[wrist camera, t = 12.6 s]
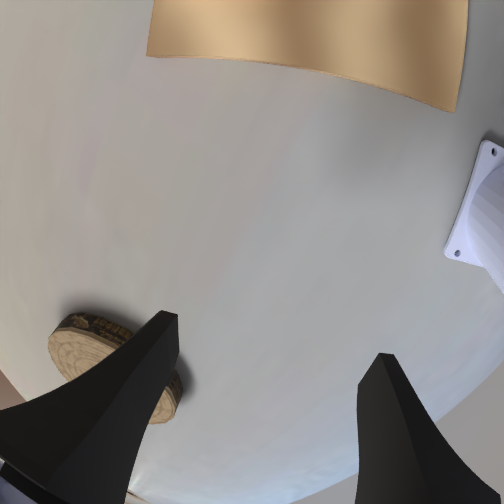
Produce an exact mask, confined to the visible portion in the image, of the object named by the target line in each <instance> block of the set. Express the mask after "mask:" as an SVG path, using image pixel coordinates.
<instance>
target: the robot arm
mask: <svg viewBox="0 0 504 504" xmlns="http://www.w3.org/2000/svg"><path fill="white" fill-rule="evenodd" d="M493 148H494V154H492V149H493ZM457 250H459V251H458V252H457V253H456V254H455V251H457ZM444 253H445V255H446V256H447V257H448V258H451V259H455V260H458V261H462V262H466V263H470V264H473V265H477V266H481V267H485V269H486V270H487V271H488V273H489V274H490V275H491V277H492V278H493V280H494V281H495V283H496V284H497V285H498V287H499V288H500V290H501V291H502V293H503V294H504V148H503V147H501V146H499V145H497V144H495V143H493V142H491V141H489V140H483V141H482V142H481V144H480V148H479V152H478V155H477V159H476V162H475V166H474V169H473V172H472V175H471V179H470V182H469V185H468V188H467V191H466V194H465V196H464V199H463V202H462V205H461V208H460V210H459V213H458V216H457V218H456V221H455V223H454V226H453V228H452V231H451V233H450V236H449V238H448V240H447V243H446V245H445V247H444ZM178 354H179V336H178V314H174V313H170V312H167V311H163V310H161V311H159V312H158V313H157V314H156V315H155V316H154V317H153V318H151V319H150V320H149V321H148V322H147V323H146V324H145V325H144V326H143V327H142V328H141V329H139V330H138V331H137V332H136V333H135V334H134V335H133V336H131V337H130V338H129V339H128V340H127V341H126V342H124V343H123V344H122V345H121V346H120V347H118V348H117V349H116V350H115V351H113V352H112V353H111V354H109V355H108V356H107V357H105V358H104V359H103V360H102V361H100V362H99V363H98V364H96V365H95V366H93V367H92V368H90V369H89V370H87V371H86V372H84V373H83V374H81V375H80V376H78V377H76V378H75V379H73V380H71V381H69V382H68V383H66V384H64V385H62V386H60V387H59V388H57V389H55V390H53V391H51V392H49V393H46V394H44V395H42V396H39V397H37V398H35V399H32V400H30V401H28V402H25V403H22V404H19V405H16V406H13V407H10V408H7V409H3V410H0V458H1V459H3V460H4V461H5V462H4V463H3V462H2V461H0V504H124V502H125V497H126V493H127V489H128V485H129V481H130V477H131V473H132V470H133V466H134V463H135V460H136V457H137V453H138V450H139V447H140V444H141V441H142V438H143V435H144V432H145V430H146V427H147V425H148V423H149V420H150V418H151V416H152V414H153V412H154V410H155V408H156V406H157V404H158V402H159V400H160V398H161V396H162V394H163V391H164V389H165V387H166V385H167V383H168V381H169V379H170V377H171V374H172V372H173V369H174V366H175V363H176V360H177V357H178ZM357 425H358V442H359V475H358V485H357V492H356V499H355V504H501V498H500V494H498V493H497V492H496V491H494V490H493V489H492V488H491V487H489V486H488V485H487V484H485V483H484V482H483V481H482V480H481V479H480V478H479V477H478V476H477V475H476V474H475V473H474V472H473V471H472V470H471V469H470V468H469V467H468V466H467V465H466V464H465V463H464V462H463V461H462V460H461V458H460V457H459V456H458V455H457V454H456V453H455V452H454V450H453V449H452V448H451V446H450V445H449V444H448V442H447V441H446V440H445V438H444V437H443V436H442V434H441V433H440V432H439V430H438V429H437V427H436V426H435V424H434V422H433V421H432V419H431V418H430V416H429V415H428V413H427V411H426V410H425V408H424V406H423V405H422V403H421V401H420V400H419V398H418V396H417V394H416V393H415V391H414V389H413V387H412V386H411V384H410V382H409V380H408V378H407V377H406V375H405V373H404V371H403V370H402V368H401V366H400V364H399V363H398V361H397V359H396V357H395V356H394V354H386V353H379V354H378V355H377V357H376V358H375V360H374V362H373V363H372V365H371V366H370V368H369V369H368V371H367V372H366V374H365V375H364V377H363V378H362V380H361V381H360V383H359V384H358V393H357Z"/></svg>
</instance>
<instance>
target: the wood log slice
mask: <svg viewBox="0 0 504 504" xmlns="http://www.w3.org/2000/svg"><path fill="white" fill-rule="evenodd" d="M133 335H134V333H133V332H131V331H130V330H128V329H127V328H125V327H123V326H121V325H119V324H116V323H114V322H112V321H110V320H108V319H105V318H103V317H100V316H95V315H91V314H86V313H78V314H70V315H68V316H67V317H66V318H65V319H64V320H63V321H62V322H61V323H60V324H59V325H58V327H57V328H56V329H55V330H54V332H53V333H52V334H51V336H50V337H49V341H48V349H49V352H50V355H51V358H52V360H53V362H54V364H55V365H56V367H57V368H58V370H59V371H60V373H61V374H62V375H63V376H64V377H65V378H66V379H67V381H68V382H69V381H71V380H73V379H75V378H76V377H78V376H80V375H81V374H83V373H84V372H86V371H87V370H89V369H90V368H92V367H93V366H95V365H96V364H98V363H99V362H100V361H102V360H103V359H104V358H105V357H107V356H108V355H109V354H111V353H112V352H113V351H115V350H116V349H117V348H118V347H120V346H121V345H122V344H123V343H124V342H126V341H127V340H128V339H129V338H130V337H131V336H133ZM182 390H183V387H182V384H181V381H180V378H179V375H178V374H177V373H176V371H175V370H174V369H173V372H172V374H171V377H170V379H169V381H168V383H167V385H166V387H165V389H164V391H163V394H162V396H161V398H160V400H159V402H158V404H157V406H156V408H155V410H154V412H153V414H152V416H151V418H150V420H149V423H148V424H161V423H166V422H168V421H169V420H171V419H172V418H173V417H174V415H175V412H176V409H177V407H178V404H179V401H180V398H181V394H182Z"/></svg>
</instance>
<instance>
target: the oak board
mask: <svg viewBox="0 0 504 504" xmlns="http://www.w3.org/2000/svg"><path fill="white" fill-rule="evenodd" d="M467 18H468V0H154V5H153V11H152V17H151V23H150V30H149V37H148V44H147V52H146V56H149V57H157V58H170V57H183V58H214V59H229V60H241V61H251V62H259V63H267V64H274V65H281V66H288V67H294V68H299V69H305V70H310V71H315V72H320V73H325V74H329V75H334V76H338V77H342V78H346V79H350V80H354V81H358V82H361V83H365V84H368V85H372V86H375V87H379V88H382V89H385V90H388V91H391V92H394V93H397V94H400V95H403V96H406V97H409V98H412V99H415V100H417V101H420V102H423V103H425V104H428V105H430V106H433V107H435V108H438V109H440V110H443V111H447V112H451V113H454V111H455V107H456V102H457V97H458V91H459V86H460V80H461V73H462V67H463V59H464V51H465V42H466V32H467Z"/></svg>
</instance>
